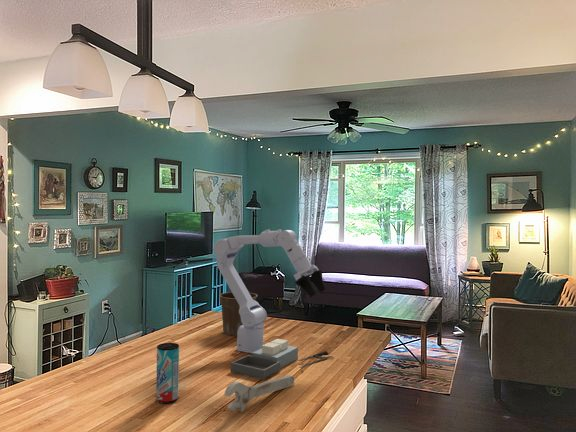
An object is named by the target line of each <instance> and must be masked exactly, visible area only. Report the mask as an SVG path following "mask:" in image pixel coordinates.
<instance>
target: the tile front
mask: <svg viewBox="0 0 576 432" xmlns="http://www.w3.org/2000/svg"><path fill="white" fill-rule="evenodd" d="M278 352H280V344H276V343H271V341H270V342H266V343H265V344H264V343H263V345H262V353H266V354H271V355H274V354H276V353H278Z"/></svg>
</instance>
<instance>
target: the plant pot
mask: <svg viewBox="0 0 576 432" xmlns="http://www.w3.org/2000/svg"><path fill="white" fill-rule="evenodd" d="M249 294H250V295H251V297H252V299H253V300H255V301H257V298H258V297H259V296H258V294H257V293H254V292H249ZM218 296H219V299H220V306H221V318H222V332H223V334H225V335H230V336H234V337H235V336H236V337H237V332H238V329H239V327H240V326H241V325H243V324H242V322H241V316H240V314H239V309H240V306H239V304H238V302H237V300H236V298H235V297H234V295H233V293H232V291H227V292H222V293H220V294H219V295H218Z"/></svg>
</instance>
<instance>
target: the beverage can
mask: <svg viewBox="0 0 576 432" xmlns="http://www.w3.org/2000/svg"><path fill="white" fill-rule="evenodd" d="M179 347H180V345H179V344H178V343H177V342H176V343H175V342H163V343H160V344H158V345H156V382H155V383H156V386H155V387H156V388H155V389H156V395H155V399H156V401H157V402H158V403H161V404H172V403H174V402H176V401H177V400H178V399H179V380H180V379H179V375H180V373H179V370H180V369H179V368H180V367H179V366H180V348H179Z"/></svg>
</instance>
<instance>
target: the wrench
mask: <svg viewBox="0 0 576 432" xmlns="http://www.w3.org/2000/svg"><path fill="white" fill-rule="evenodd" d="M294 383H295V377H294V376H293V375H289V374H288V375H284V376H280V377H277V378H275V379H270V380H268V381H264V382H261V383H258V384H254V385H251V386H250V385H247V384H244V383H242V382H241V381H240V382H239V381H235V380H234V381H232V382H231V383H229V385H227V387H226V388H225V391H224V396H225V397H228V398H231V396H232V395H233V394H234V396H235V397H234V400H233V401H231V402H229V404H228V405H227V409H228V410H230V411H232V412H233V411H234V412H236V411H239V412H242V413H243V412H244V410H245V409H246V406H247V405H248V404H249V403H250V401H252V400H253V399H256V398H258V397H261V396H263V395H267V394H270V393H273V392H276V391H280V390H282V389H287V388H290V387H291V386H294Z"/></svg>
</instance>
